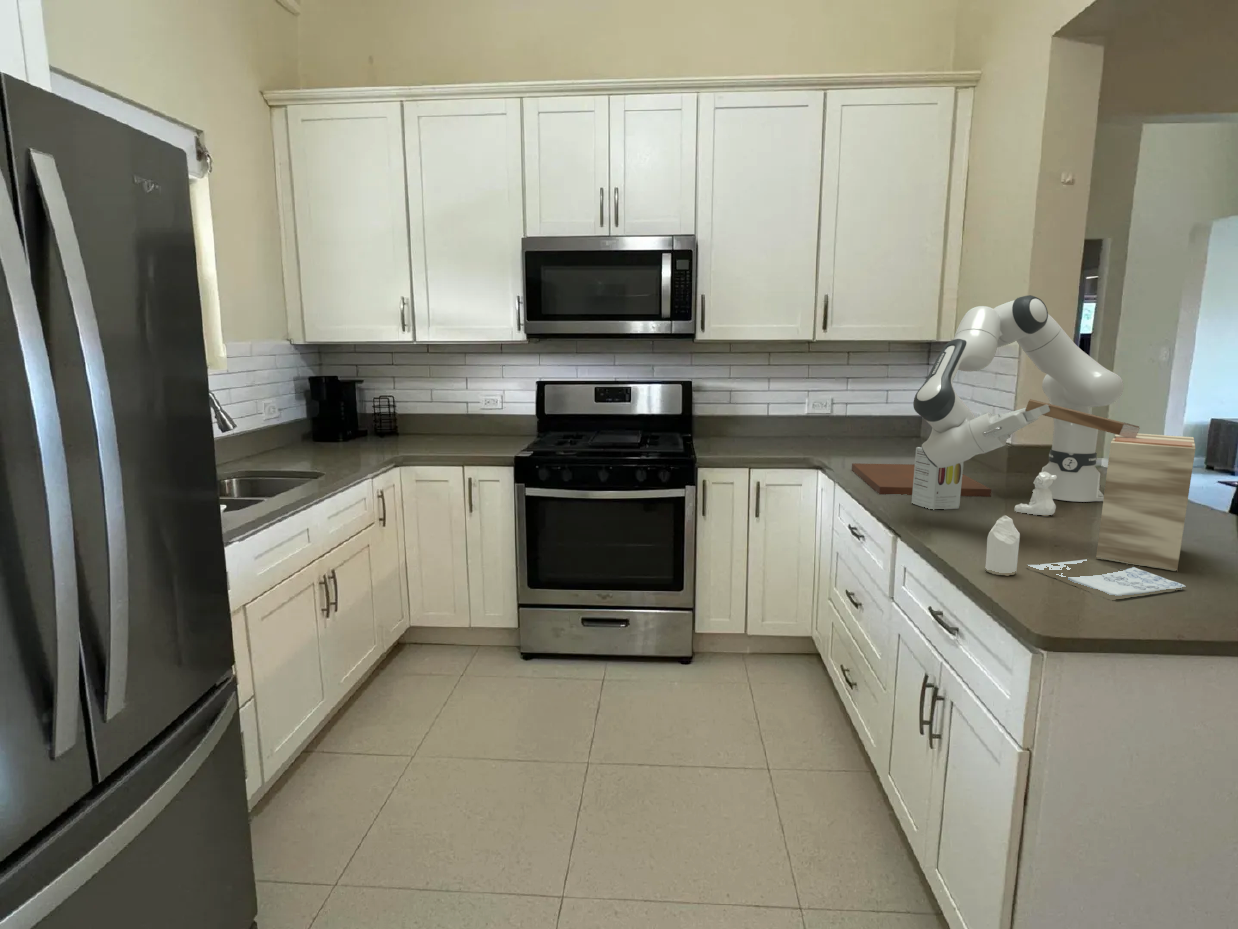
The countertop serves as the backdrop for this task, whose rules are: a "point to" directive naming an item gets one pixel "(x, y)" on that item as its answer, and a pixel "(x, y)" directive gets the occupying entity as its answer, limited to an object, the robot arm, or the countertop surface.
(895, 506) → the countertop surface
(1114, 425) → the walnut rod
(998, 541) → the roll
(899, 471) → the reddish brown board
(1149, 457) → the birch shelf
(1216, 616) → the countertop surface
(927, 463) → the supplement box
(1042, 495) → the white creature statuette
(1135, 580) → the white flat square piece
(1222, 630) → the countertop surface
